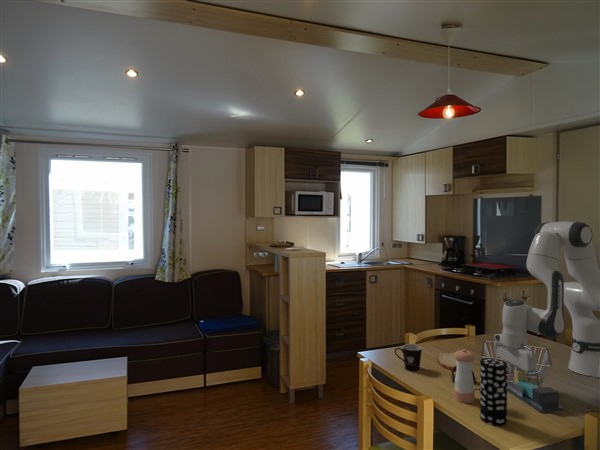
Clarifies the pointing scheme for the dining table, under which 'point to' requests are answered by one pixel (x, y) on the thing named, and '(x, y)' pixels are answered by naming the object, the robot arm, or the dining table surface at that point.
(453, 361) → the bread slice
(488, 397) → the white-spotted black cylinder
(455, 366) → the pottery mug
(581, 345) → the robot arm
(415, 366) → the coffee mug
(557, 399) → the guide
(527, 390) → the teal yellow slider block
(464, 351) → the pepper shaker
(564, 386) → the dining table surface
